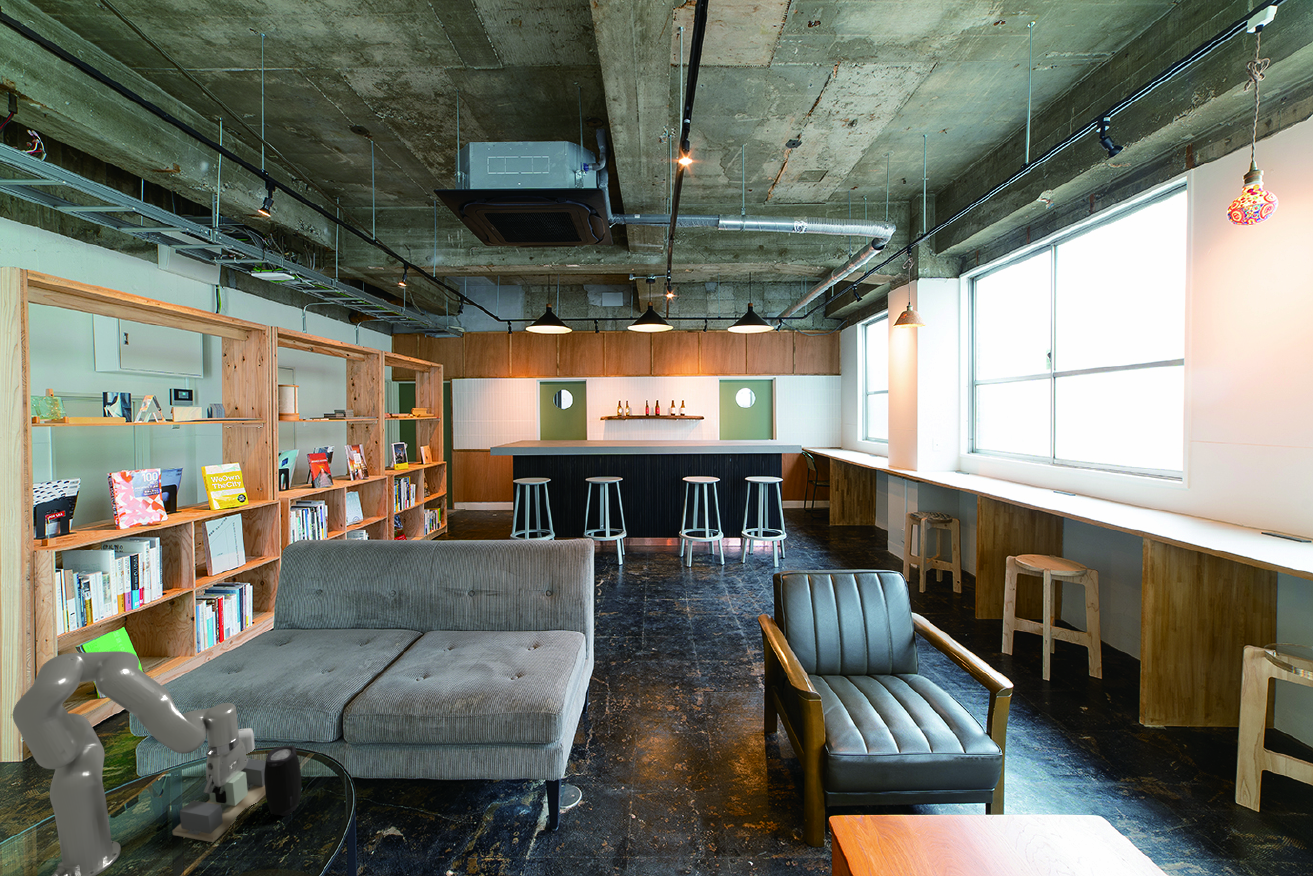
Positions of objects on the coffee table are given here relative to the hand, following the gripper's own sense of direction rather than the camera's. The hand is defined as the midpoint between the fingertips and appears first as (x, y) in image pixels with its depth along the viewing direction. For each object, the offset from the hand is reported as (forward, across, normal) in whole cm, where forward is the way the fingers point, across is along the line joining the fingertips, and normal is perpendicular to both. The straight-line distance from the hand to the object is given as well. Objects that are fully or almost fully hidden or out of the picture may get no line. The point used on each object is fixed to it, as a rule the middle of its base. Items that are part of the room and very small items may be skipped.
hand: (228, 795), depth 171 cm
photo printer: (+4, +16, +14) cm, 22 cm away
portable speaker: (+4, +2, -18) cm, 18 cm away
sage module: (+1, 0, 0) cm, 1 cm away
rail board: (+4, 0, 0) cm, 4 cm away
